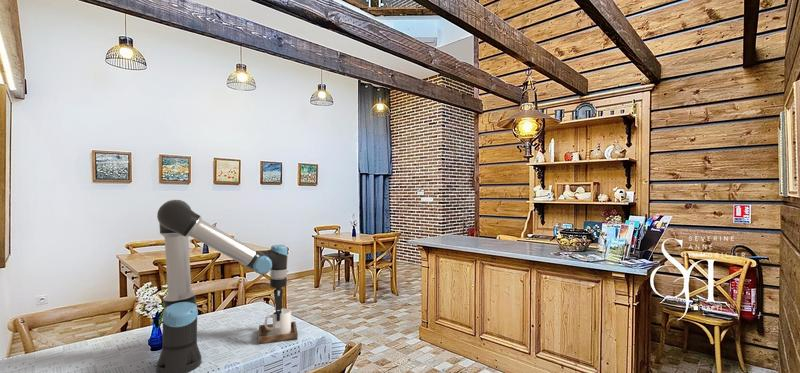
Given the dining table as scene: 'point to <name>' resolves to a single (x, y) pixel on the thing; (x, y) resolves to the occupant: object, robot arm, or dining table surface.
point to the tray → (269, 337)
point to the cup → (285, 322)
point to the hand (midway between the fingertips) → (277, 322)
